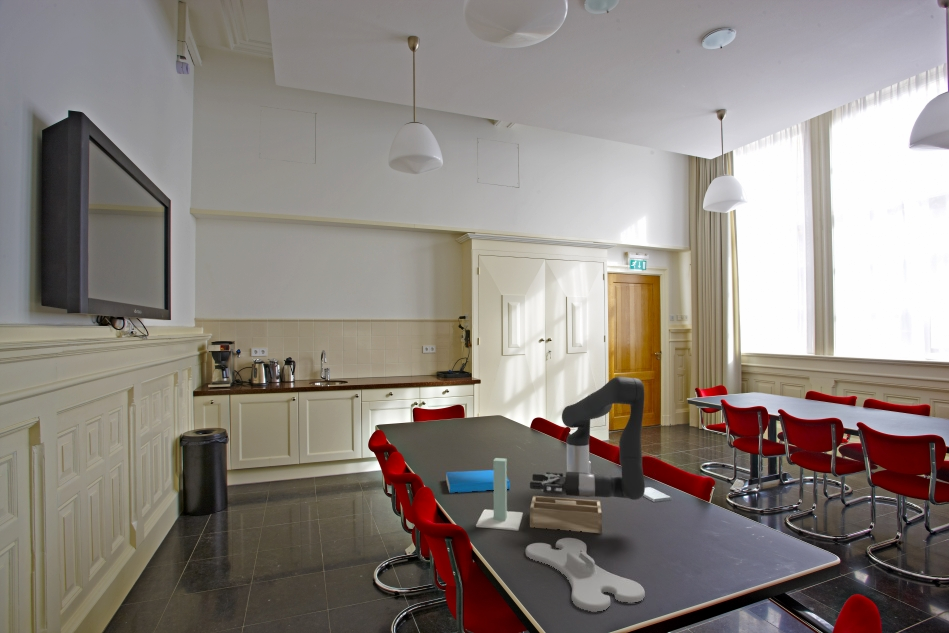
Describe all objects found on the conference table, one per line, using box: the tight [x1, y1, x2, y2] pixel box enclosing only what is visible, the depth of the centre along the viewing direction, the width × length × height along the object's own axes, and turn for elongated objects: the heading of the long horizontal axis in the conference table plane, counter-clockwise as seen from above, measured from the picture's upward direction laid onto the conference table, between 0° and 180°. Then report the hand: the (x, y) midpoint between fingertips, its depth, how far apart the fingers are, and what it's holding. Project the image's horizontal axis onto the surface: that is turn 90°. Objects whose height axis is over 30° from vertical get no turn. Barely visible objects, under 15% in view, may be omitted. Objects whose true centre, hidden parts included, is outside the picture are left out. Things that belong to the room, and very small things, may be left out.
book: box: [445, 469, 511, 494], centre depth 196 cm, size 17×4×25 cm
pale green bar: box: [492, 457, 508, 521], centre depth 160 cm, size 4×4×20 cm
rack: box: [529, 495, 603, 534], centre depth 157 cm, size 12×23×6 cm, turn 78°
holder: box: [525, 537, 646, 613], centre depth 125 cm, size 19×34×5 cm, turn 20°
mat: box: [475, 509, 524, 531], centre depth 159 cm, size 14×14×1 cm
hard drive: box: [642, 486, 673, 503], centre depth 184 cm, size 2×8×12 cm
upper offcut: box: [555, 500, 576, 505], centre depth 160 cm, size 4×7×3 cm, turn 83°
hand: (531, 481), depth 158 cm, fingers open, 8 cm apart
